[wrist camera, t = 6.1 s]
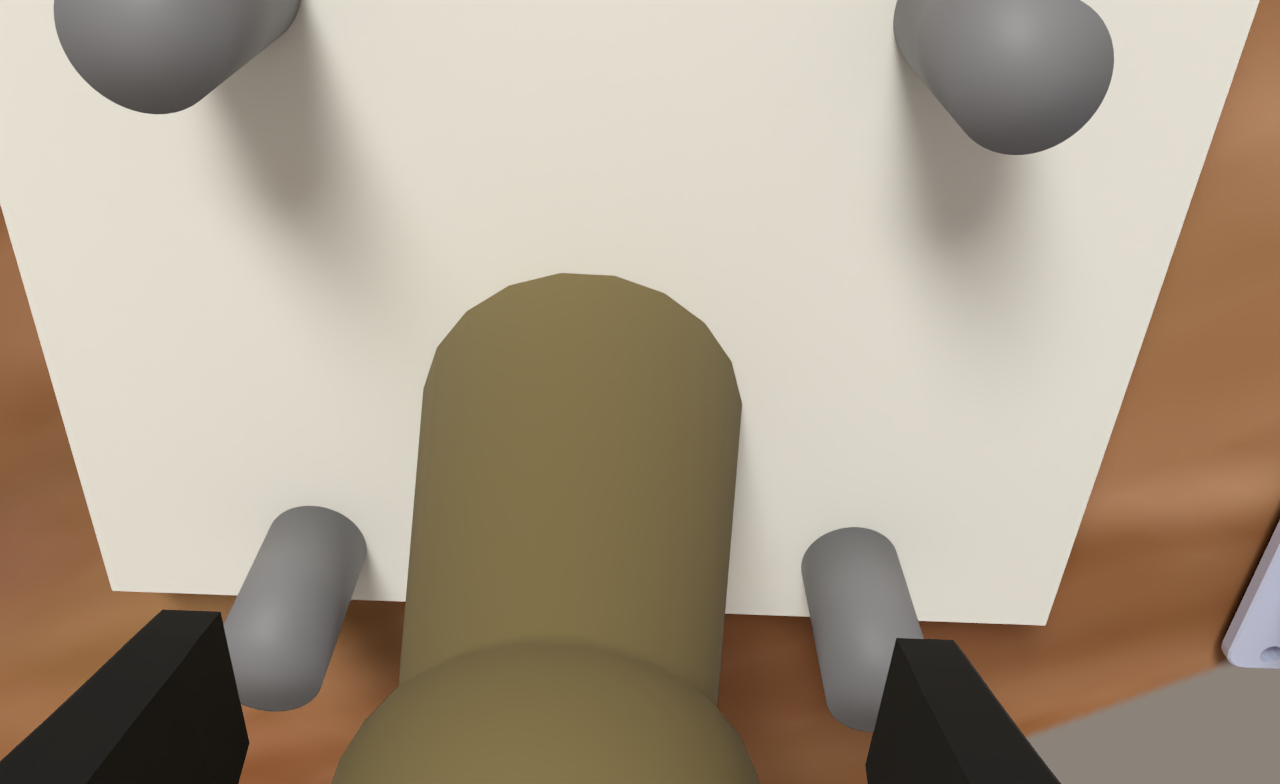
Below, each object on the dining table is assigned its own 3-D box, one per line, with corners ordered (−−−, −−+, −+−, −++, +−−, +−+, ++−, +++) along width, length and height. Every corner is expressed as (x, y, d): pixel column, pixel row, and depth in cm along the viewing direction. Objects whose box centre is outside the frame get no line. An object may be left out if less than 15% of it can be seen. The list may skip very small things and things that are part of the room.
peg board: (1236, -90, 17) (1441, -33, 12) (1023, 578, 24) (1106, 758, 20) (-44, -158, 16) (-289, -123, 12) (140, 544, 23) (29, 721, 19)
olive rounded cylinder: (640, 582, 22) (641, 1198, 13) (372, 464, 20) (147, 1072, 11) (805, 367, 19) (962, 953, 10) (511, 212, 18) (369, 735, 8)
